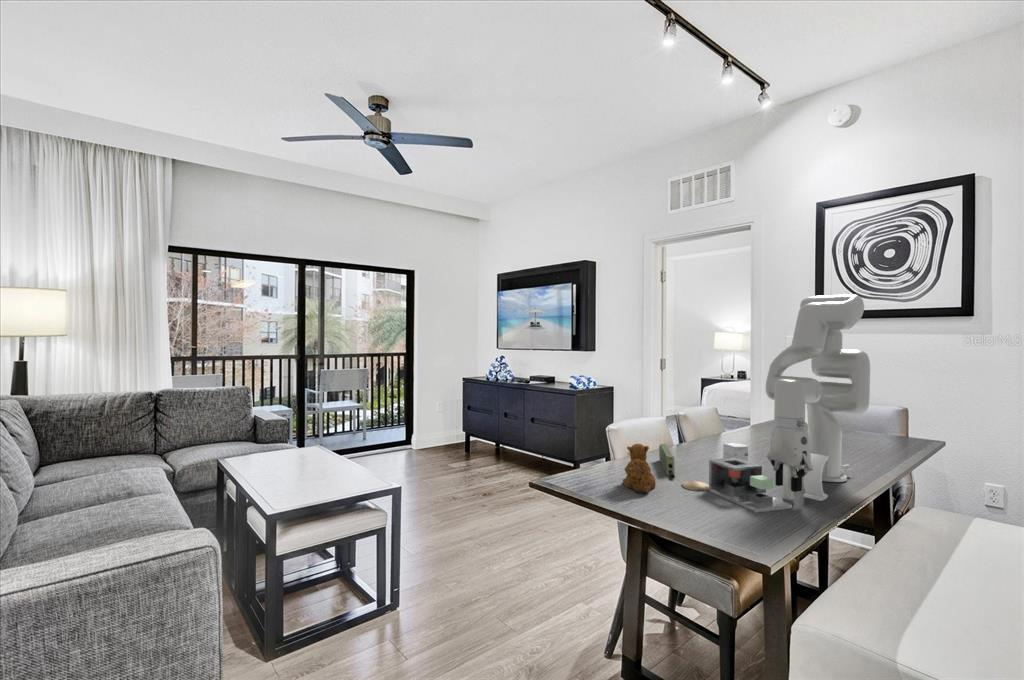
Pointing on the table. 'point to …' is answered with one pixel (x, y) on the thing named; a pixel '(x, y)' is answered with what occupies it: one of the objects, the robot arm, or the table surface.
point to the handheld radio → (667, 460)
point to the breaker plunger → (735, 475)
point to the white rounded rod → (787, 484)
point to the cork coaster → (695, 485)
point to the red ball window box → (741, 485)
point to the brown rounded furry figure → (639, 470)
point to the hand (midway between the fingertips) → (788, 487)
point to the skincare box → (735, 451)
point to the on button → (761, 483)
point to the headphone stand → (815, 478)
